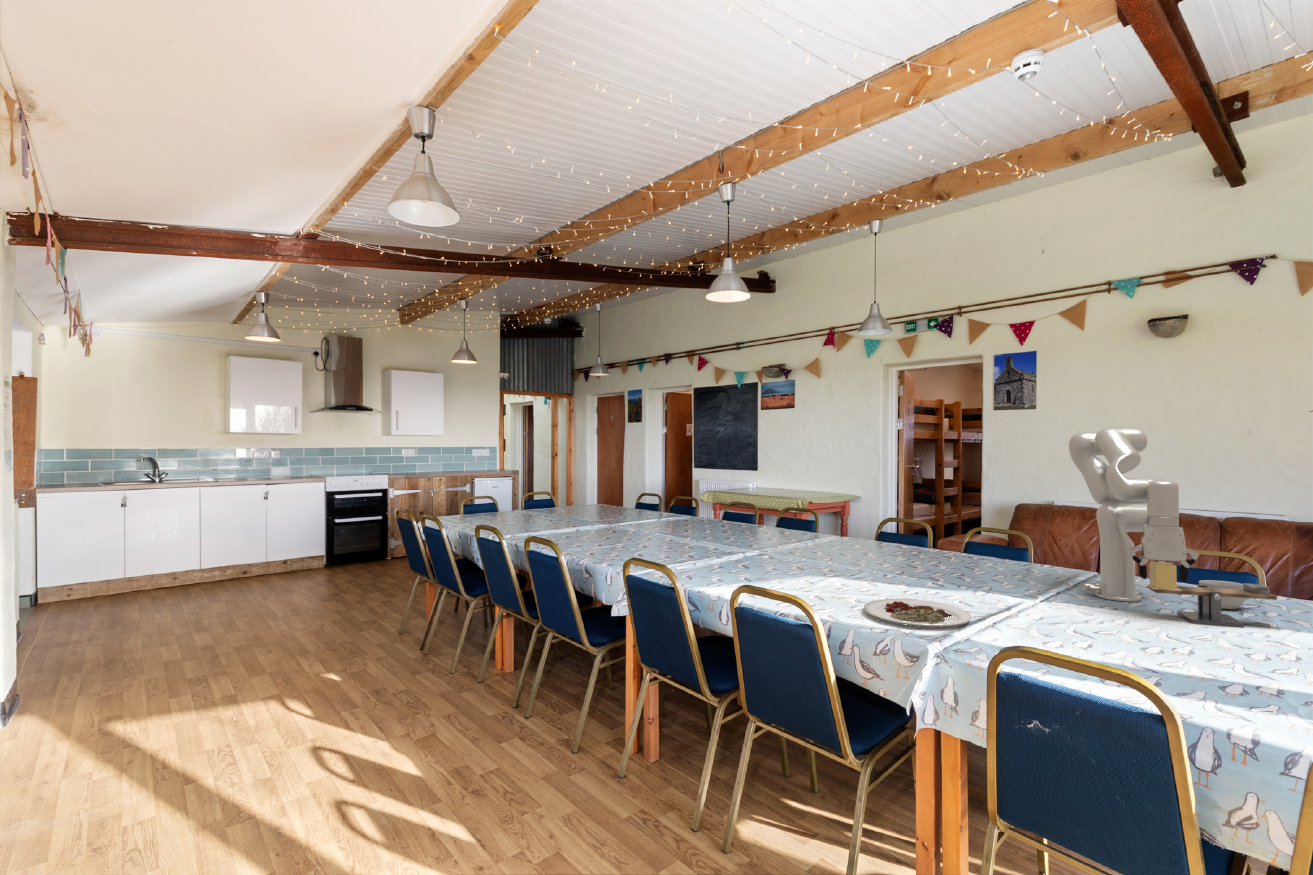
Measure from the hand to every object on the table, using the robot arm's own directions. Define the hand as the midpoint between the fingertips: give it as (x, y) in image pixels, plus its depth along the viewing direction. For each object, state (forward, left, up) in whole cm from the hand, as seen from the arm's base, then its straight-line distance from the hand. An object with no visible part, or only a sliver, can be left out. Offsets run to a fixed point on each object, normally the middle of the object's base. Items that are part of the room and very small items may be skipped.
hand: (1162, 579), depth 192 cm
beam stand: (+11, 0, -11) cm, 16 cm away
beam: (+11, 0, -3) cm, 11 cm away
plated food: (-69, -23, -12) cm, 74 cm away
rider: (0, 0, -2) cm, 2 cm away
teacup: (+23, +20, -12) cm, 33 cm away
